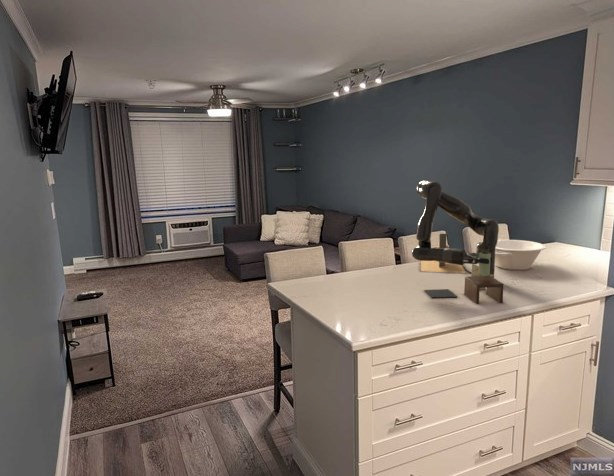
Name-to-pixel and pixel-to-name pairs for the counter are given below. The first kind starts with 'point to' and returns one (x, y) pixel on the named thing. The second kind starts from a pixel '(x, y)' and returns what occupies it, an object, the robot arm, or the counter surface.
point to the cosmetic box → (475, 271)
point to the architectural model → (441, 266)
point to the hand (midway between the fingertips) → (490, 260)
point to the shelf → (479, 282)
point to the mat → (440, 293)
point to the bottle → (484, 268)
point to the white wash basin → (516, 254)
